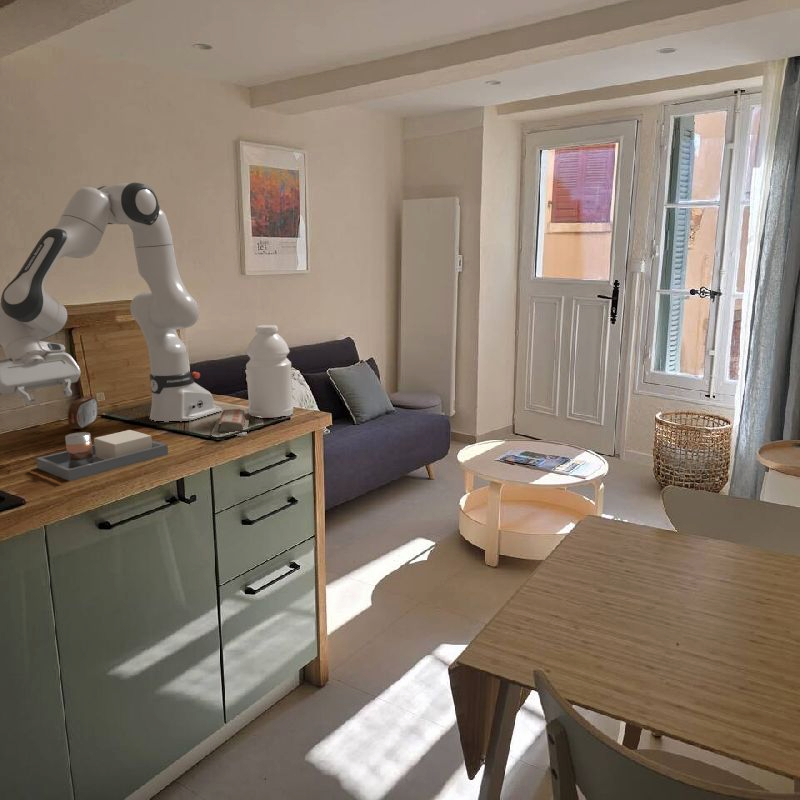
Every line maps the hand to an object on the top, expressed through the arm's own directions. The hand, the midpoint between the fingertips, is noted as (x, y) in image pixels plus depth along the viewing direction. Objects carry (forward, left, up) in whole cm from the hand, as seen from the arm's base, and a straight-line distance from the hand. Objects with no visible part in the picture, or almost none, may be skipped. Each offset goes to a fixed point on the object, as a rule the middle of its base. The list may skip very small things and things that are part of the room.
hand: (50, 398), depth 181 cm
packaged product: (-46, +12, -17) cm, 50 cm away
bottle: (-65, +7, -16) cm, 67 cm away
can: (0, +12, -15) cm, 20 cm away
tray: (-6, +12, -16) cm, 21 cm away
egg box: (-11, +12, -15) cm, 23 cm away
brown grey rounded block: (-22, -28, -16) cm, 39 cm away
